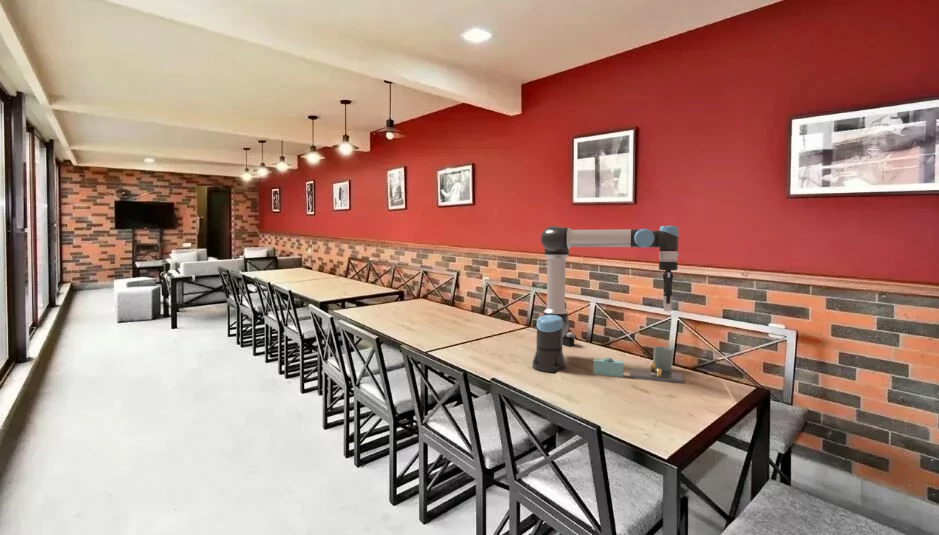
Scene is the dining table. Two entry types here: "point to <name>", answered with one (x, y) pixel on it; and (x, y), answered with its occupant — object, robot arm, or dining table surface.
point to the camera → (568, 339)
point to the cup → (663, 358)
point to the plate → (656, 374)
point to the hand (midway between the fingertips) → (667, 309)
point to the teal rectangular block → (608, 367)
